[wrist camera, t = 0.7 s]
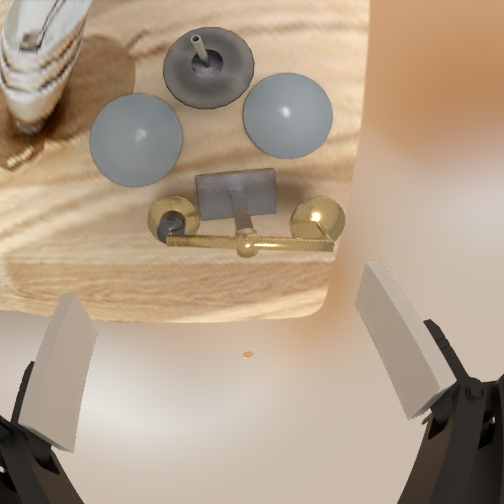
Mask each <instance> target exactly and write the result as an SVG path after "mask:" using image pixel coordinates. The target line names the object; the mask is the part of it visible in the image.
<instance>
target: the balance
mask: <svg viewBox="0 0 504 504" xmlns="http://www.w3.org/2000/svg"><path fill="white" fill-rule="evenodd" d="M195 179H196V187H197V194H198V201H199V208H200V214H201V221H207V220H216V219H225V218H234V222H235V229H236V233H235V236H213V235H196V233H197V231H198V229H199V221H200V219H199V213H198V211H197V209H196V207H195V206H194V205H193V204H192V203H191V202H190V201H189V200H187V199H185V198H183V197H180V196H167V197H163V198H161V199H159V200H158V201H156V202H155V203H154V204H153V206H152V207H151V209H150V211H149V214H148V219H147V221H148V227H149V230H150V232H151V233H152V234H153V236H154V237H155V238H156V239H158V240H159V241H161V242H163V243H165V244H167V246H168V247H198V248H227V249H237V254H238V255H239V256H240V257H244V258H249V257H253V256H255V255H256V254H257V253H258V250H283V251H311V252H333V247H334V243H333V242H334V241H336V240H337V239H338V237H339V236H340V235H341V233H342V231H343V229H344V225H345V215H344V212H343V210H342V208H341V207H340V205H339V204H338V203H337V202H336V201H334V200H333V199H331V198H328V197H323V196H318V197H313V198H310V199H307V200H305V201H304V202H302V203H301V204H300V205H299V206H298V207H297V208H296V209H295V210H294V212H293V214H292V216H291V219H290V232H291V234H292V237H293V238H284V237H257V232H256V230H254V229H253V225H252V222H251V218H250V216H254V215H264V214H274V213H276V180H275V170H274V168H270V169H257V170H245V171H235V172H225V173H215V174H207V175H198V176H196V178H195Z"/></svg>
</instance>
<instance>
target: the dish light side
mask: <svg viewBox="0 0 504 504" xmlns="http://www.w3.org/2000/svg"><path fill="white" fill-rule="evenodd" d="M243 119H244V125H245V128H246V131H247V133H248V135H249V136H250V138H251V140H252V141H253V142H254V143H255V145H256V146H257V147H258V148H260V149H261V150H262V151H264V152H265V153H267V154H269V155H271V156H274V157H277V158H283V159H294V158H300V157H303V156H306V155H308V154H310V153H312V152H313V151H315V150H316V149H317V148H318V147H320V146H321V145H322V143H323V142H324V141H325V139H326V138H327V136H328V134H329V132H330V129H331V126H332V120H333V112H332V106H331V103H330V100H329V98H328V96H327V94H326V93H325V91H324V90H323V89H322V88H321V86H319V85H318V84H317V83H316V82H315V81H313V80H312V79H310V78H308V77H306V76H303V75H299V74H294V73H282V74H276V75H273V76H270V77H268V78H266V79H264V80H262V81H261V82H259V83H258V84H257V85H256V86H255V87H254V88H253V89H252V90H251V92H250V93H249V95H248V97H247V99H246V102H245V105H244V111H243Z"/></svg>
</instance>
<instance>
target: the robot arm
mask: <svg viewBox="0 0 504 504" xmlns="http://www.w3.org/2000/svg"><path fill="white" fill-rule="evenodd" d="M355 306H356V307H357V309H358V311H359V313H360V316H361V317H362V320H363V322H364V324H365V326H366V328H367V330H368V332H369V334H370V336H371V338H372V340H373V342H374V344H375V346H376V348H377V350H378V352H379V355H380V357H381V359H382V361H383V363H384V365H385V368H386V370H387V372H388V374H389V377H390V379H391V381H392V383H393V386H394V388H395V390H396V393H397V395H398V397H399V400H400V401H401V404H402V407H403V409H404V412H405V414H406V416H407V419H408V420H410V419H413V418H415V417H417V416H420V415H422V414H424V413H425V412H426V411H427V410H428V409H429V408H430V409H431V411H432V413H431V414H429V415H428V416H427V417H426V418H425V419H424V420H423V422H422V424H425V423H426V422H427V421H428V424H427V427H426V431H425V434H424V437H423V440H422V443H421V446H420V449H419V452H418V455H417V458H416V461H415V463H414V466H413V468H412V471H411V473H410V476H409V478H408V481H407V483H406V485H405V488H404V490H403V492H402V494H401V496H400V499H399V501H398V503H397V504H504V374H503V375H502V376H501V377H500V378H499V379H498V380H497V381H490V382H481V381H480V380H478V379H476V378H471V377H469V376H468V374H467V373H466V371H465V369H464V368H463V366H462V364H461V362H460V360H459V359H458V357H457V355H456V353H455V352H454V350H453V349H452V347H451V346H450V343H449V342H448V340H447V339H445V335H444V334H443V332H442V331H441V329H440V327H439V326H438V325H436V324H435V323H434V322H433V321H432V320H431V319H429V320H425V321H422V319H421V318H420V316H419V315H418V313H417V311H416V310H415V308H414V307H413V305H412V304H411V302H410V301H409V299H408V298H407V296H406V295H405V293H404V292H403V290H402V289H401V287H400V286H399V284H398V283H397V282H396V280H395V279H394V277H393V276H392V275H391V273H390V272H389V270H388V269H387V268H386V266H385V265H384V263H383V262H382V260H381V259H377V260H370V261H366V264H365V268H364V272H363V276H362V280H361V284H360V288H359V291H358V295H357V298H356V302H355ZM97 333H98V331H97V330H96V328H95V326H94V325H93V323H92V321H91V320H90V318H89V316H88V315H87V313H86V311H85V310H84V308H83V306H82V304H81V302H80V301H79V299H78V297H77V295H76V293H64V294H62V296H61V298H60V300H59V303H58V305H57V307H56V309H55V312H54V314H53V316H52V319H51V321H50V324H49V326H48V329H47V331H46V333H45V336H44V339H43V341H42V344H41V347H40V349H39V352H38V355H37V358H36V361H35V362H33V361H31V362H30V364H29V365H28V367H27V368H26V370H25V372H24V375H23V378H22V383H21V385H20V388H19V390H20V391H19V392H18V395H17V398H16V402H15V406H14V410H13V414H12V418H11V421H10V422H9V421H7V420H6V419H4V418H3V417H2V416H1V415H0V466H1V467H3V468H4V472H3V473H2V472H0V504H84V503H83V501H82V500H81V498H80V497H79V495H78V493H77V492H76V490H75V489H74V487H73V485H72V484H71V482H70V480H69V479H68V477H67V475H66V473H65V472H64V470H63V468H62V466H61V464H60V463H59V461H58V459H57V457H56V455H55V453H54V452H53V451H52V450H51V446H54V447H56V448H58V449H60V450H63V451H67V452H71V453H74V446H75V438H76V431H77V424H78V418H79V411H80V406H81V401H82V396H83V390H84V386H85V381H86V377H87V372H88V368H89V364H90V360H91V355H92V352H93V348H94V344H95V340H96V336H97ZM493 417H494V418H495V423H494V422H493Z"/></svg>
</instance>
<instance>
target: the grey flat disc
mask: <svg viewBox="0 0 504 504" xmlns="http://www.w3.org/2000/svg"><path fill="white" fill-rule="evenodd" d="M182 140H183V135H182V127H181V124H180V121H179V118H178V116H177V114H176V113H175V112H174V110H173V109H172V108H171V107H170V106H169V105H168V104H167V103H166V102H165V101H163V100H161V99H160V98H158V97H155V96H153V95H149V94H142V93H138V94H130V95H125V96H122V97H119V98H117V99H115V100H113V101H112V102H110V103H109V104H108V105H107V106H105V107H104V108H103V109H102V111H101V112H100V113H99V114H98V116H97V117H96V119H95V121H94V123H93V126H92V129H91V133H90V150H91V155H92V158H93V160H94V163H95V164H96V166H97V168H98V169H99V170H100V172H101V173H102V174H103V175H104V176H105V177H107V178H108V179H109V180H111V181H112V182H114V183H117V184H119V185H122V186H126V187H143V186H147V185H150V184H153V183H155V182H157V181H158V180H160V179H161V178H163V177H164V176H165V175H166V174H167V173H168V172H169V171H170V170H171V169H172V167H173V166H174V164H175V163H176V161H177V159H178V156H179V154H180V151H181V147H182Z"/></svg>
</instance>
